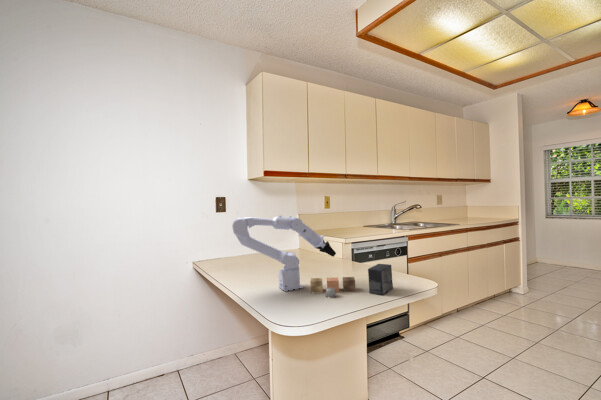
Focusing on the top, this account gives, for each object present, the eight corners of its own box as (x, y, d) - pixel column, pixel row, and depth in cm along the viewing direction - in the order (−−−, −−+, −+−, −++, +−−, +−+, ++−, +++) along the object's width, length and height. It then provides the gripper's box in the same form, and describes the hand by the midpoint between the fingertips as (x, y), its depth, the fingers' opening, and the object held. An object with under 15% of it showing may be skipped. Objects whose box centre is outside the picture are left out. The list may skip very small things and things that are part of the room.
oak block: (311, 293, 128) (310, 281, 128) (311, 289, 133) (310, 278, 133) (322, 292, 127) (321, 281, 127) (322, 289, 132) (322, 277, 132)
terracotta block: (327, 292, 127) (326, 280, 127) (327, 288, 132) (326, 277, 132) (339, 292, 127) (338, 280, 127) (338, 288, 132) (338, 277, 131)
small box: (379, 286, 131) (378, 263, 131) (393, 288, 127) (392, 264, 127) (368, 293, 123) (367, 268, 123) (383, 295, 119) (381, 269, 119)
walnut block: (343, 292, 126) (343, 280, 126) (343, 288, 131) (342, 277, 131) (355, 291, 126) (355, 280, 126) (354, 288, 131) (354, 276, 131)
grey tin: (329, 298, 119) (328, 291, 119) (324, 295, 123) (324, 288, 123) (337, 296, 121) (337, 289, 121) (332, 294, 125) (332, 286, 125)
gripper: (319, 230, 131) (342, 249, 133) (312, 227, 146) (333, 244, 147) (309, 243, 131) (332, 261, 132) (303, 239, 145) (324, 255, 147)
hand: (332, 253), depth 140 cm, fingers open, 7 cm apart
